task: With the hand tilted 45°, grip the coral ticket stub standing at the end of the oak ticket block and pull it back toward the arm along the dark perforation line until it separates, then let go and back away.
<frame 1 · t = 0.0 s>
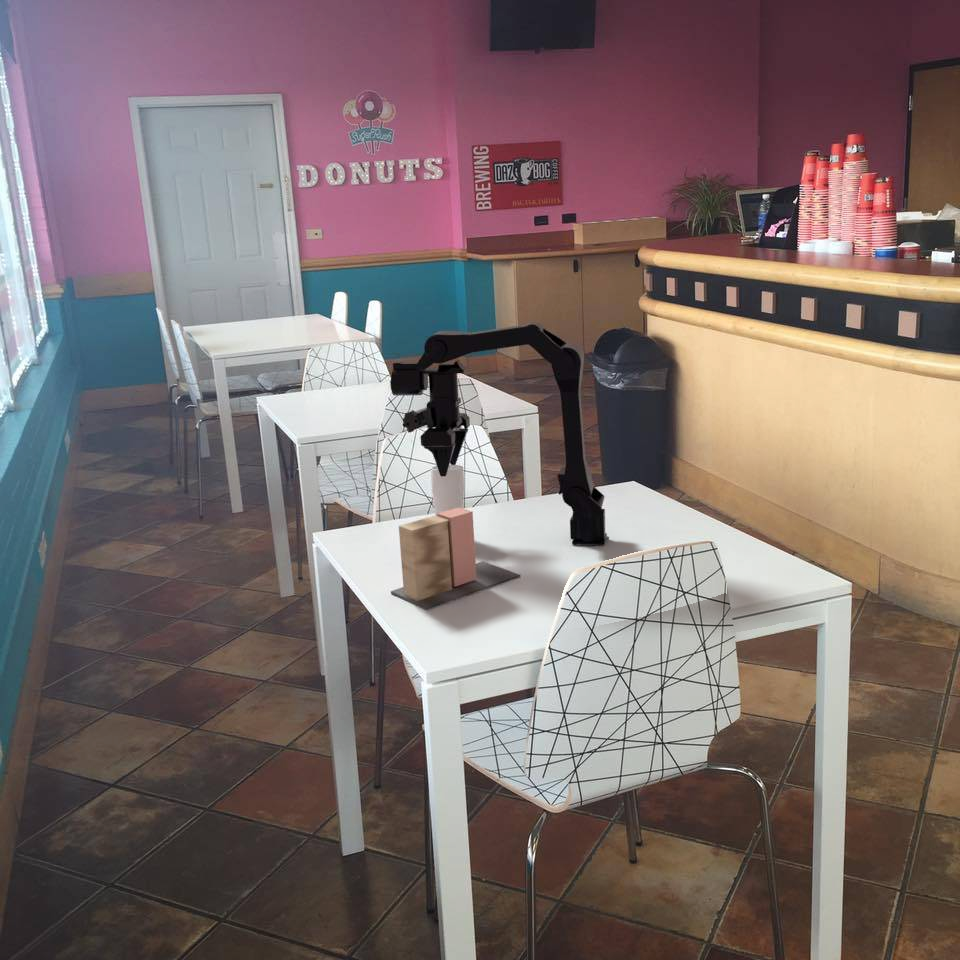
hand: (448, 470, 211), 15 cm above the table, tool pointing down, fingers open, 9 cm apart
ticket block: (429, 594, 185), on the table
stub: (456, 546, 187), point 7 cm above the table, slide at 0.0 cm
drinking glass: (449, 539, 215), on the table, touching gripper
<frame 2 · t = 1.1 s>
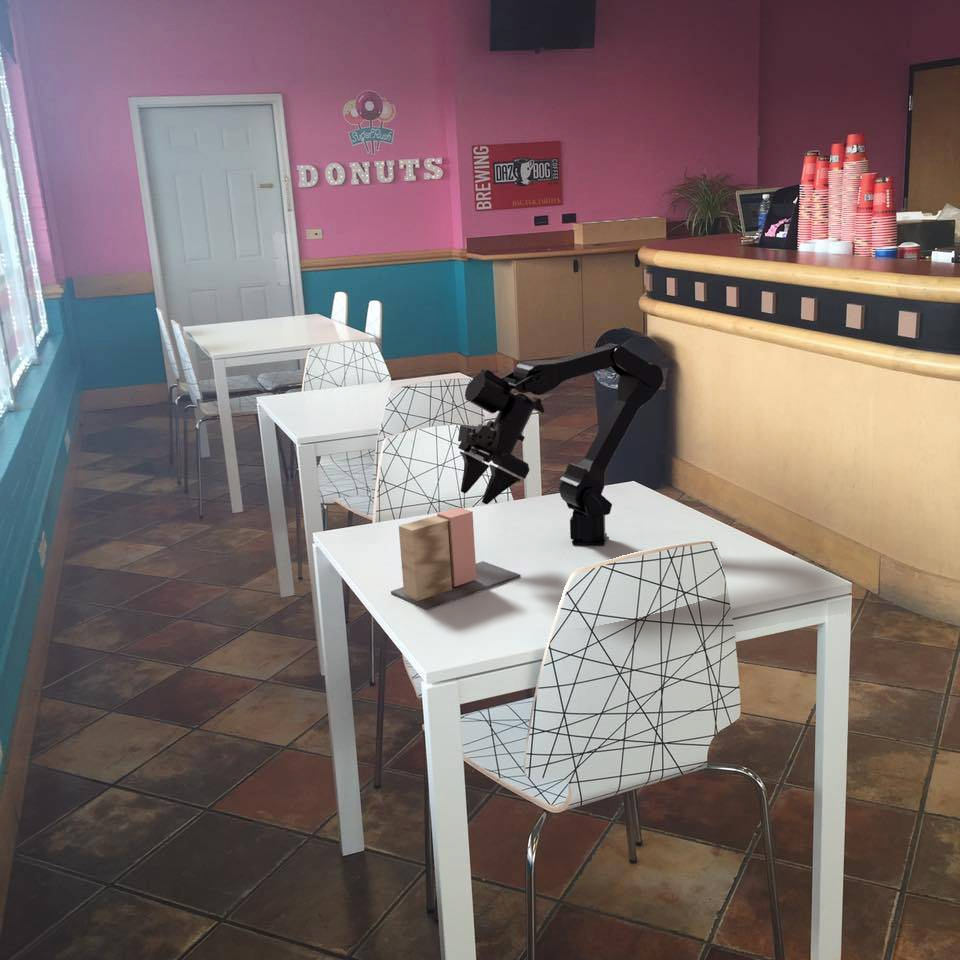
hand: (473, 497, 195), 14 cm above the table, tool tilted 35°, fingers open, 9 cm apart
drinking glass: (445, 530, 212), point 3 cm above the table
everything else where it was.
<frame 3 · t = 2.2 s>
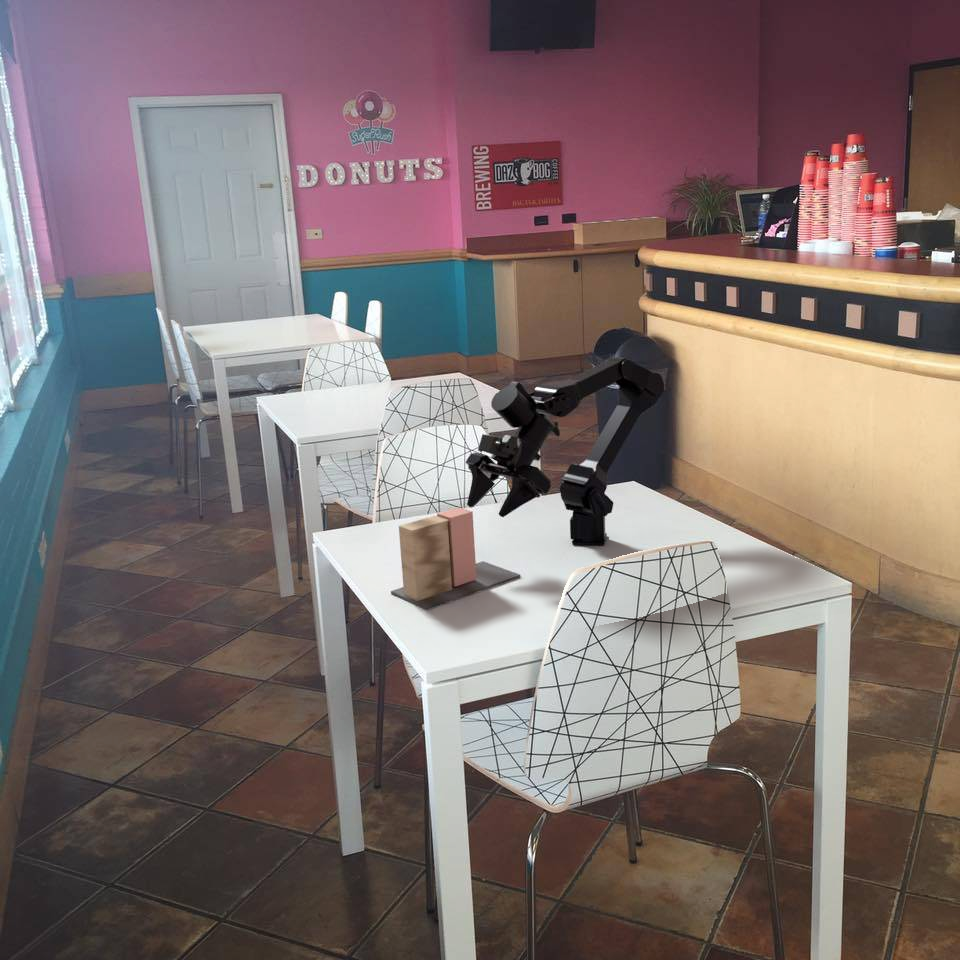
hand: (484, 511, 190), 12 cm above the table, tool tilted 45°, fingers open, 9 cm apart
nothing on the table moved.
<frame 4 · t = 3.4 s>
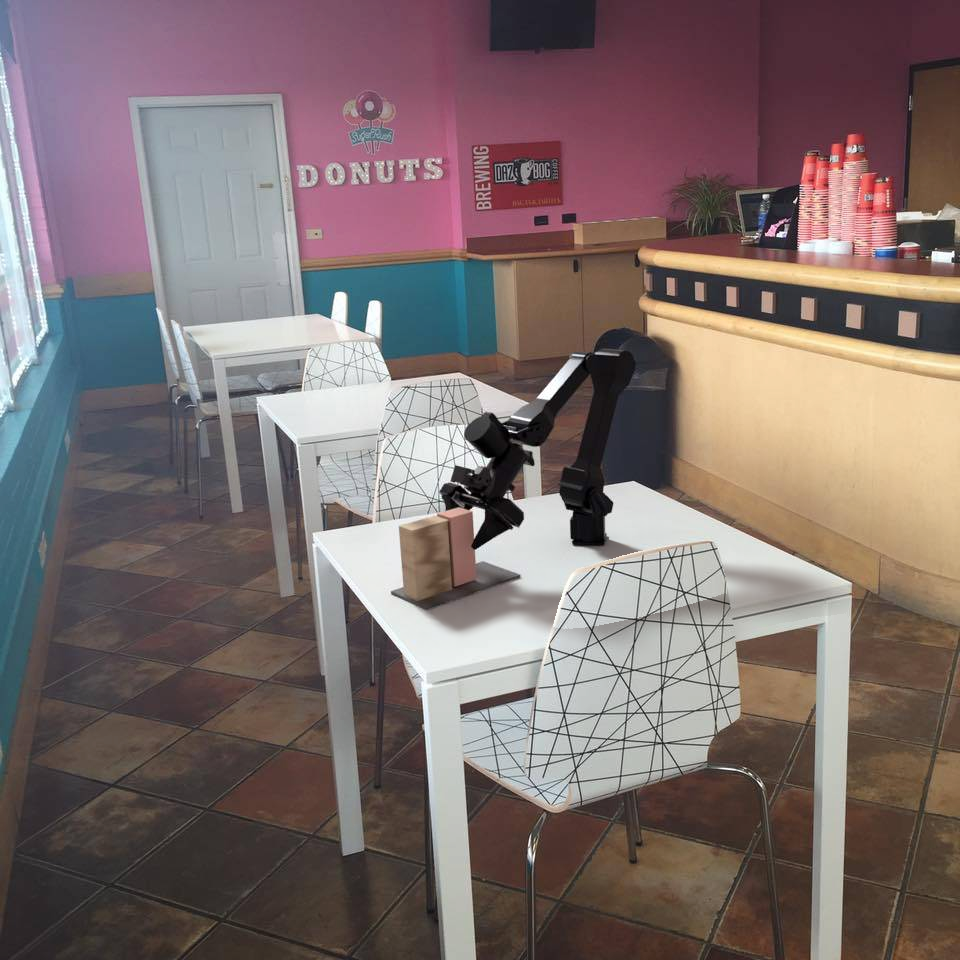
hand: (457, 542, 187), 8 cm above the table, tool tilted 45°, fingers open, 9 cm apart
nothing on the table moved.
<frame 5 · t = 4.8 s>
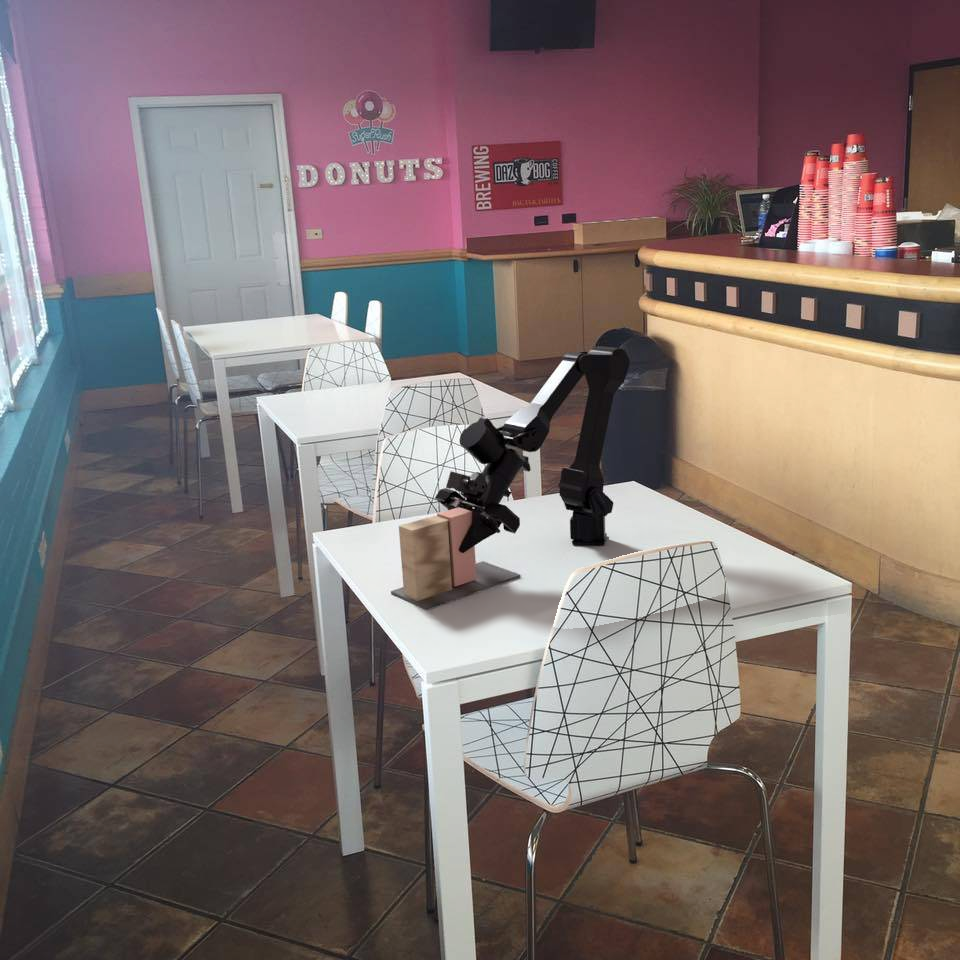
hand: (453, 549, 187), 7 cm above the table, tool tilted 45°, fingers closed on stub, 4 cm apart
stub: (456, 546, 187), point 7 cm above the table, slide at 0.0 cm, touching gripper
everything else where it was.
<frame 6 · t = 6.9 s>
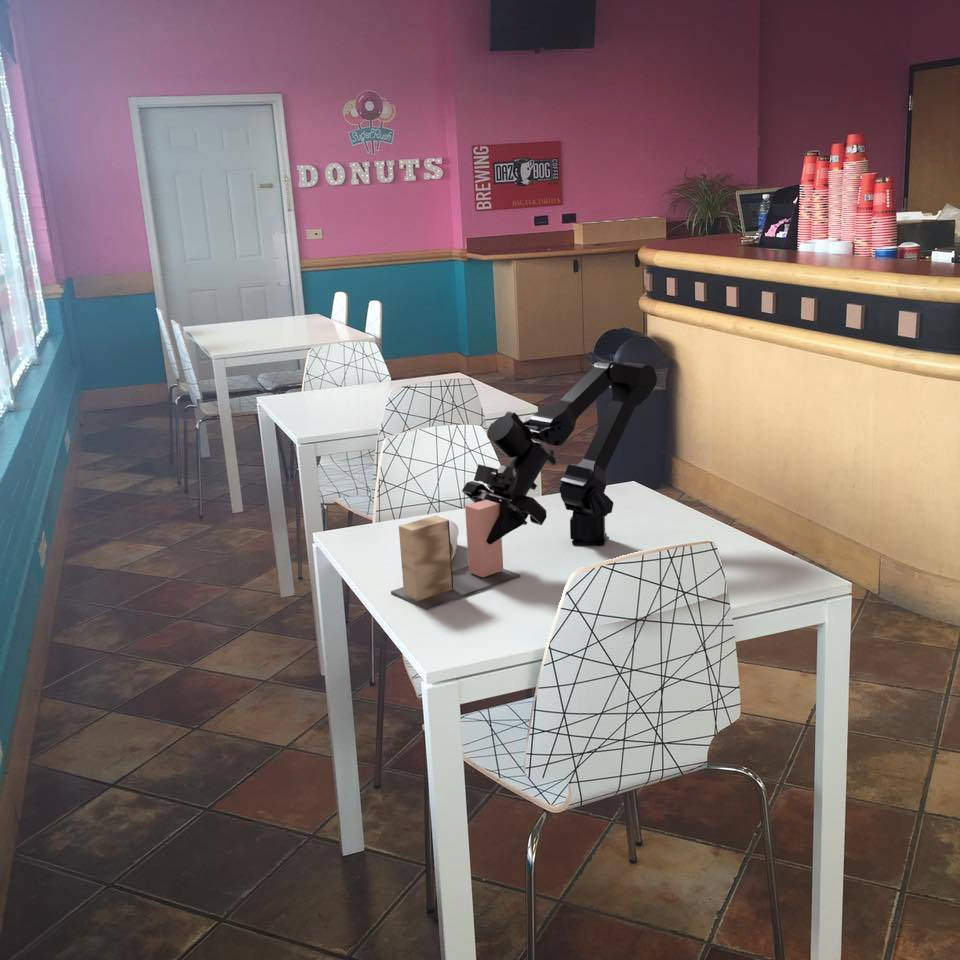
hand: (480, 540, 190), 7 cm above the table, tool tilted 45°, fingers closed on stub, 4 cm apart
stub: (484, 538, 191), point 7 cm above the table, slide at 6.4 cm, touching gripper
everything else where it was.
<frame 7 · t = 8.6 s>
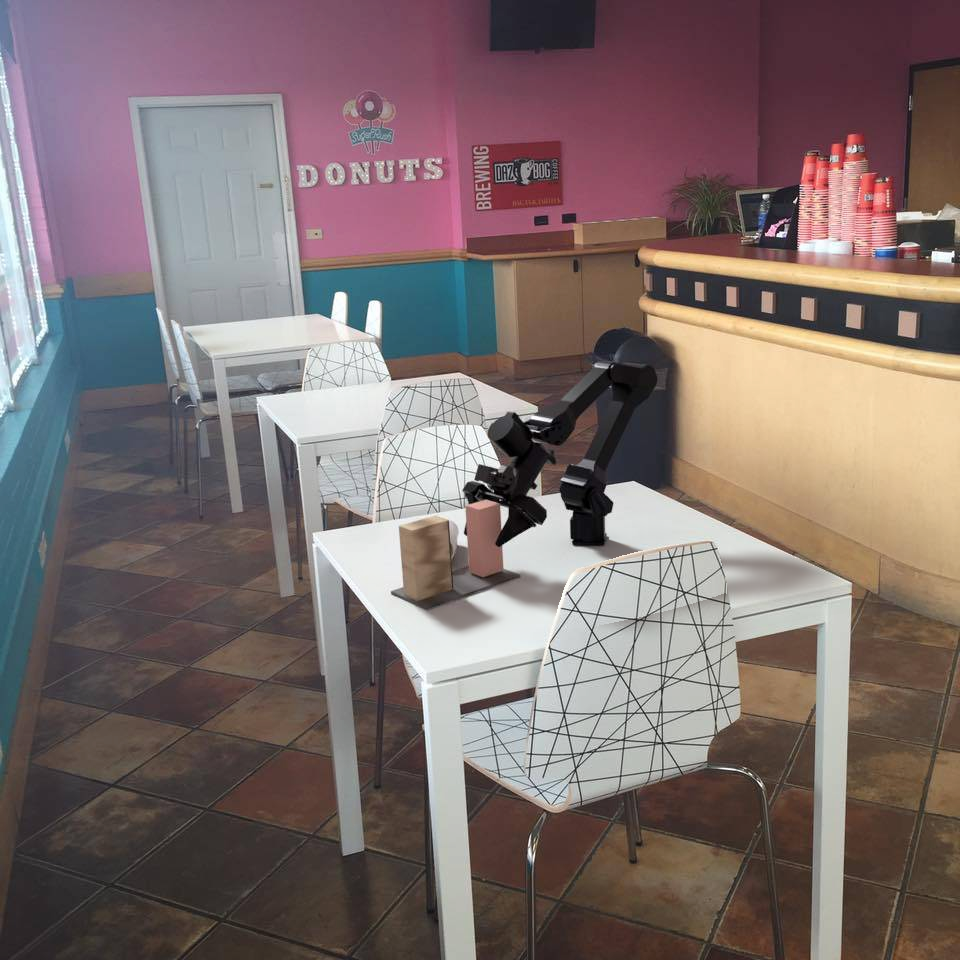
hand: (481, 540, 190), 7 cm above the table, tool tilted 45°, fingers open, 9 cm apart
stub: (484, 538, 191), point 7 cm above the table, slide at 6.5 cm
everything else where it was.
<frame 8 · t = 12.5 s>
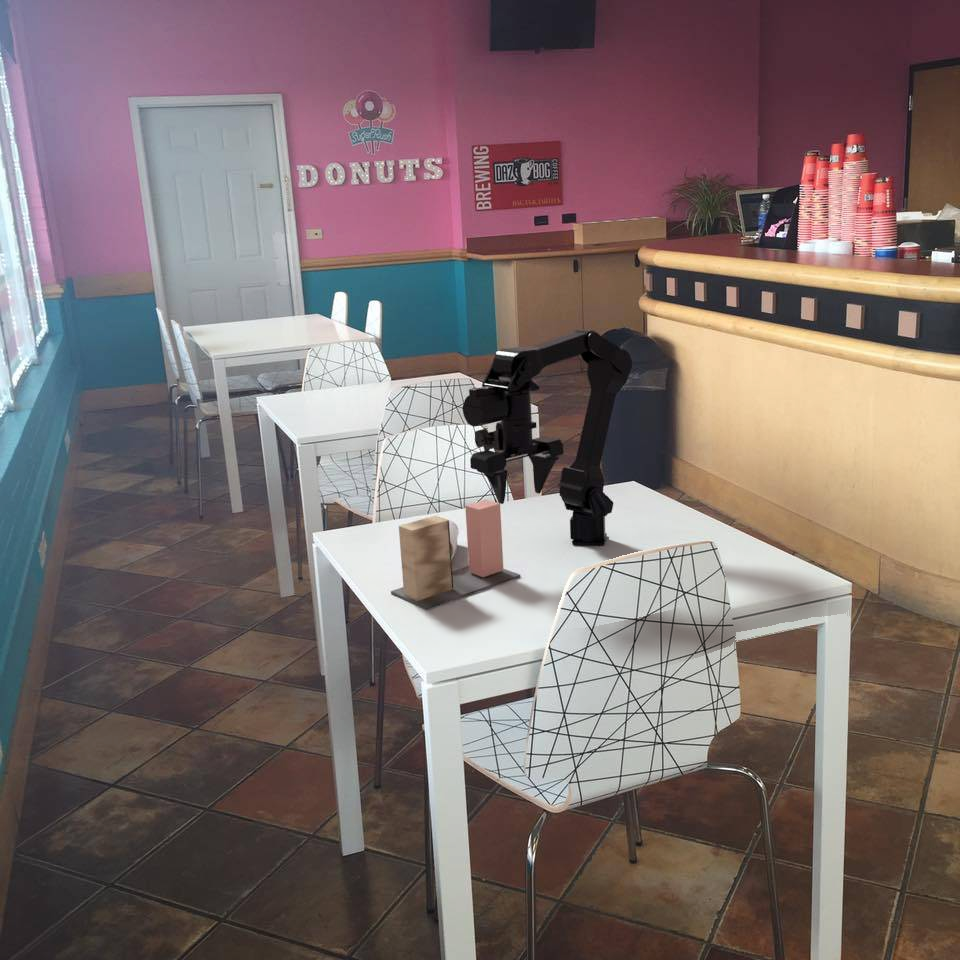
hand: (519, 498, 195), 13 cm above the table, tool pointing down, fingers open, 9 cm apart
nothing on the table moved.
at the end: stub slide at 6.5 cm; the gripper is holding nothing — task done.
